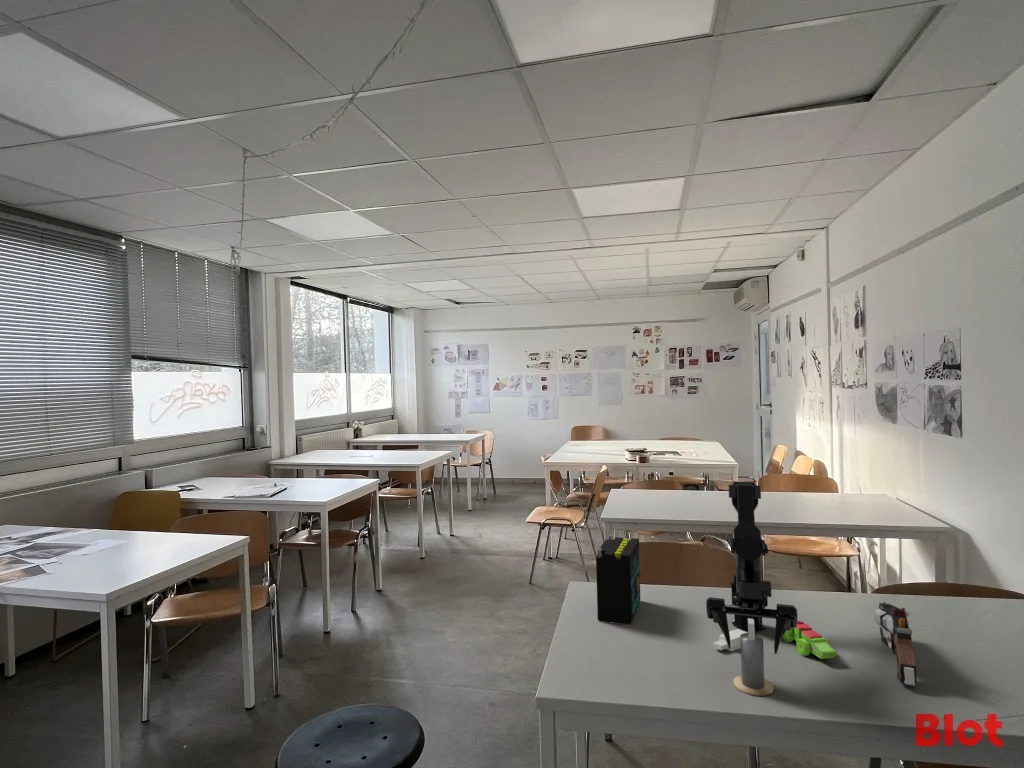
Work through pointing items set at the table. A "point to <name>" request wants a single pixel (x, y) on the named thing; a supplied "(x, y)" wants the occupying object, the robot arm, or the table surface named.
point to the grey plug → (752, 658)
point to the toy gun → (898, 640)
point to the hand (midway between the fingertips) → (752, 650)
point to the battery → (618, 580)
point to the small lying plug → (733, 640)
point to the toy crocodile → (809, 641)
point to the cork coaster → (757, 692)
